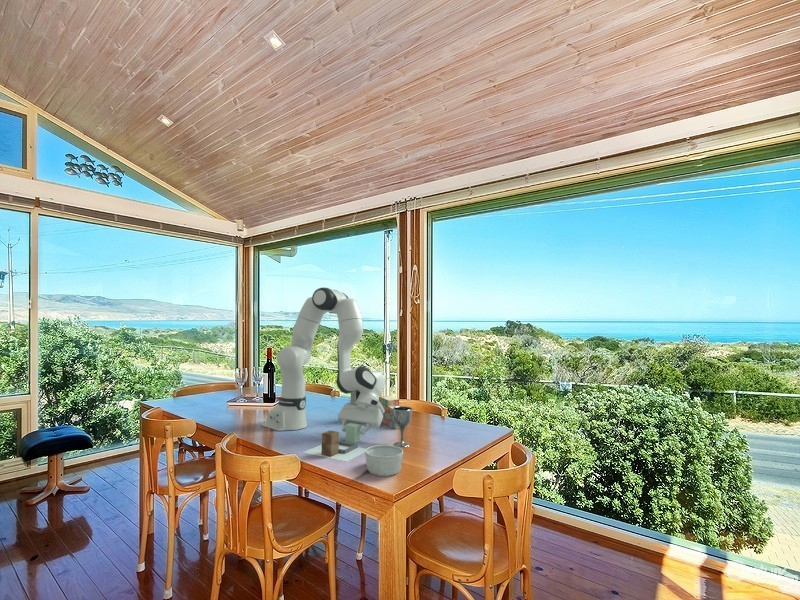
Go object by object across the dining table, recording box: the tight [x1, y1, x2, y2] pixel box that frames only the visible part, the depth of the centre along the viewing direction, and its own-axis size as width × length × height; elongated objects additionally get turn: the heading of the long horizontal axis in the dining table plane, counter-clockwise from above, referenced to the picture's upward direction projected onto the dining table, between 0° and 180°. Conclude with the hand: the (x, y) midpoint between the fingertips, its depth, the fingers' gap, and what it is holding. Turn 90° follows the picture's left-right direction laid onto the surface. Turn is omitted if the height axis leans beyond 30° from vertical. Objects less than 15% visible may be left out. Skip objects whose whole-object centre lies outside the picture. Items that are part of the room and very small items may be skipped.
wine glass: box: [393, 405, 413, 448], centre depth 171 cm, size 8×8×15 cm
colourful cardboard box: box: [378, 395, 400, 430], centre depth 205 cm, size 21×6×12 cm, turn 25°
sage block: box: [344, 423, 362, 444], centre depth 170 cm, size 4×4×8 cm
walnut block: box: [321, 429, 340, 457], centre depth 153 cm, size 4×4×8 cm
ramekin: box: [364, 444, 404, 477], centre depth 140 cm, size 13×13×7 cm
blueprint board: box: [302, 440, 367, 462], centre depth 156 cm, size 20×16×2 cm
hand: (352, 432), depth 170 cm, fingers open, 8 cm apart
